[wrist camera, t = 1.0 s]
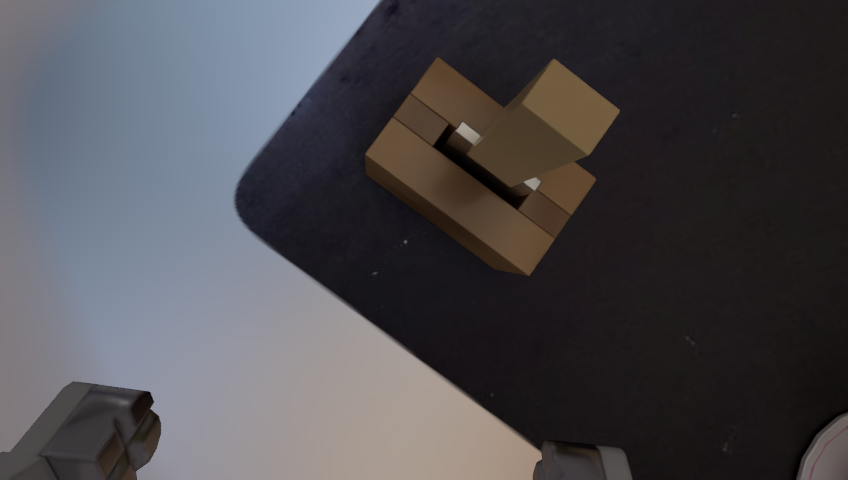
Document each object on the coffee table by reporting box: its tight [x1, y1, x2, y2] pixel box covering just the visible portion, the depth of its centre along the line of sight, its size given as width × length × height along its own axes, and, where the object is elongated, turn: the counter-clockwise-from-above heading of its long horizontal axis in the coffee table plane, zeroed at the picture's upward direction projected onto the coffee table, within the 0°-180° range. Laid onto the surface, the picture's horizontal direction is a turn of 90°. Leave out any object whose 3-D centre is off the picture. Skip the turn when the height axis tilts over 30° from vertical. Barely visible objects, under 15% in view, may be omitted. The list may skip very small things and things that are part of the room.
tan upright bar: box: [439, 59, 620, 201], centre depth 23 cm, size 4×2×18 cm, turn 54°
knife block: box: [365, 57, 596, 276], centre depth 29 cm, size 10×6×7 cm, turn 54°
